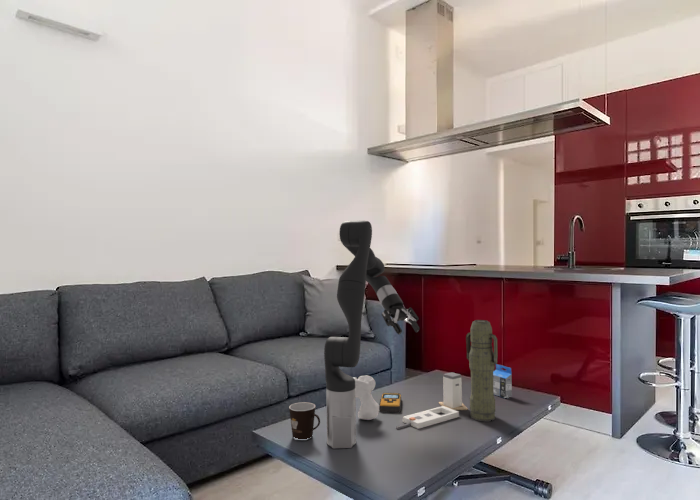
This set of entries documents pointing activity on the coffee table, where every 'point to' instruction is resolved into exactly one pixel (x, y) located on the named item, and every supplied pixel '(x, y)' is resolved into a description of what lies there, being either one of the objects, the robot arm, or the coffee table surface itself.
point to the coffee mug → (303, 419)
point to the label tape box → (502, 381)
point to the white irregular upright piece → (366, 397)
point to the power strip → (428, 417)
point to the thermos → (482, 369)
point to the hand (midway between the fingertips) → (409, 332)
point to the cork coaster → (456, 407)
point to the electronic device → (390, 402)
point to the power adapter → (452, 390)
